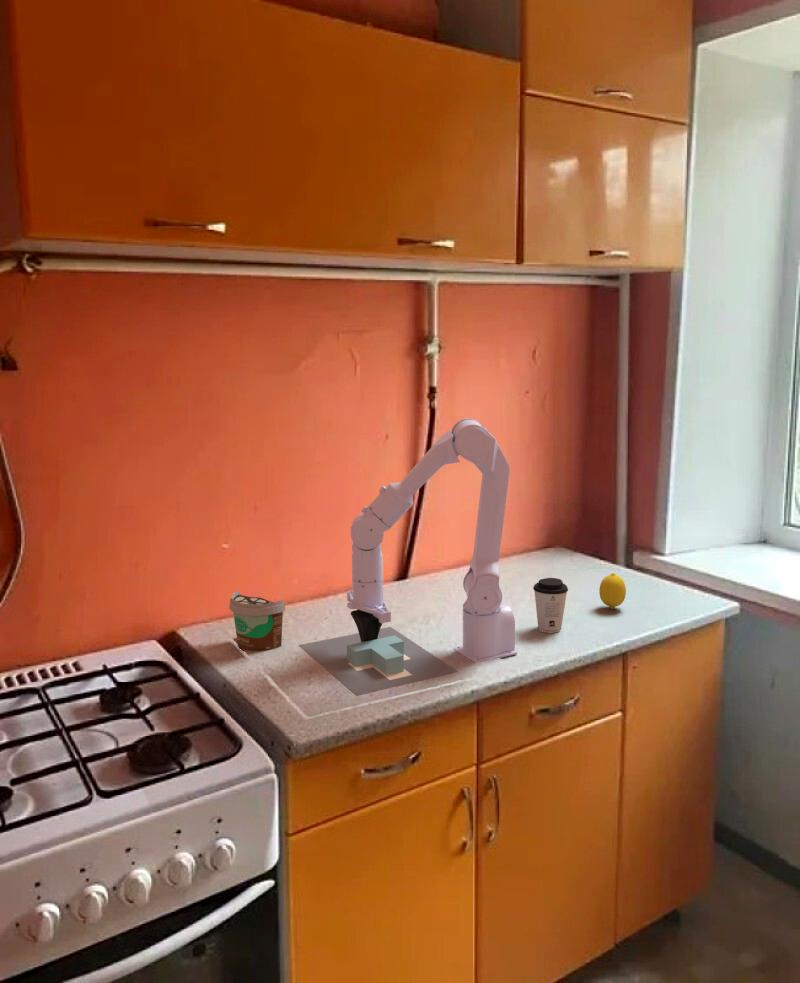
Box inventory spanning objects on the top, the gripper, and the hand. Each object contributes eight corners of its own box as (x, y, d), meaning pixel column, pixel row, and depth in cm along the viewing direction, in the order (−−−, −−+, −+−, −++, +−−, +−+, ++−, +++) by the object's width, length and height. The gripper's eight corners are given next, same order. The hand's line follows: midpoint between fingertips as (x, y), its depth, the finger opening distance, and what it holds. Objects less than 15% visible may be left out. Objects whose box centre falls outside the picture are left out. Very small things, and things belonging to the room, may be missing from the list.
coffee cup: (559, 637, 175) (560, 589, 173) (526, 631, 179) (527, 583, 177) (572, 626, 181) (573, 579, 179) (540, 620, 184) (541, 574, 182)
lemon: (600, 603, 195) (601, 568, 193) (626, 606, 193) (628, 570, 191) (597, 611, 189) (598, 575, 188) (623, 614, 188) (625, 578, 186)
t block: (395, 650, 168) (394, 635, 168) (419, 667, 160) (419, 652, 159) (347, 660, 164) (346, 645, 163) (369, 679, 155) (369, 663, 155)
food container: (217, 647, 172) (215, 598, 170) (240, 637, 177) (237, 589, 175) (265, 660, 165) (263, 609, 163) (287, 650, 170) (285, 600, 168)
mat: (390, 629, 181) (390, 626, 181) (457, 674, 158) (458, 671, 158) (298, 647, 171) (298, 645, 171) (356, 698, 149) (356, 695, 149)
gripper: (331, 571, 168) (333, 639, 171) (365, 592, 156) (366, 665, 159) (365, 566, 172) (366, 632, 174) (400, 586, 159) (401, 657, 162)
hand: (369, 647), depth 167 cm, fingers closed
